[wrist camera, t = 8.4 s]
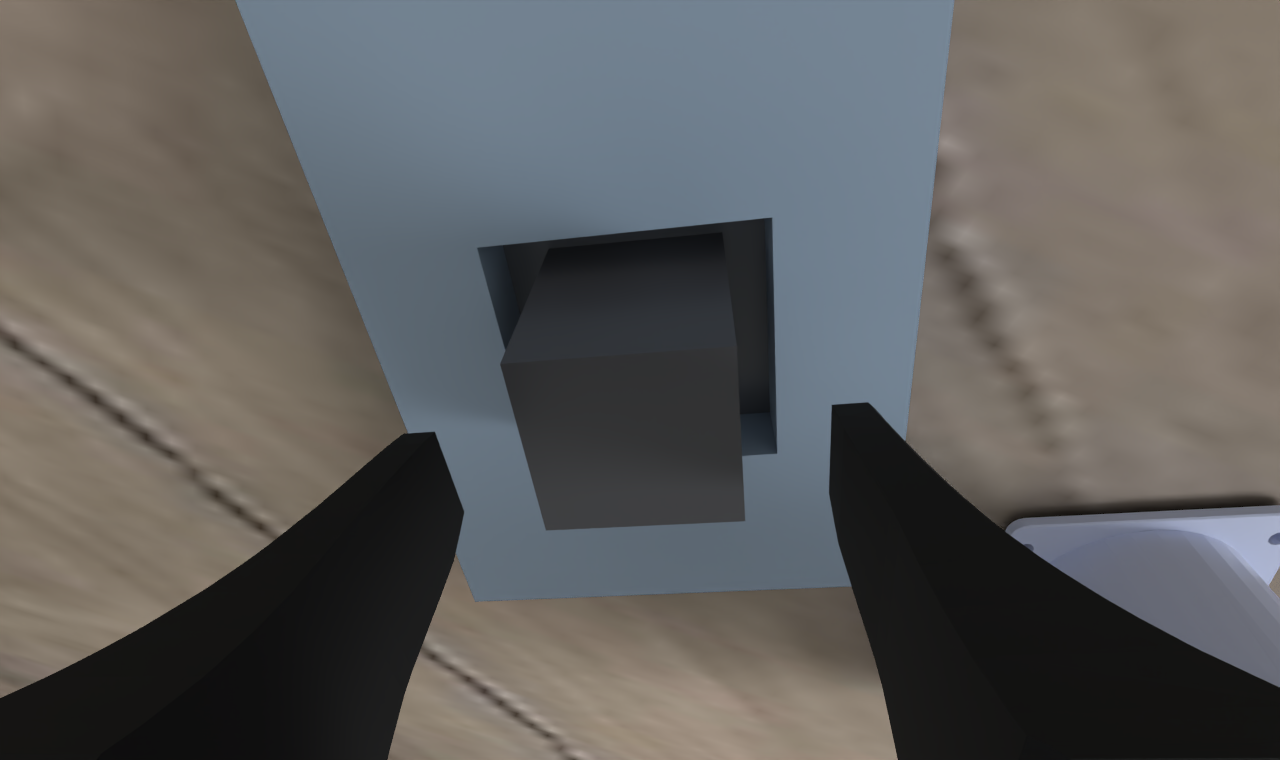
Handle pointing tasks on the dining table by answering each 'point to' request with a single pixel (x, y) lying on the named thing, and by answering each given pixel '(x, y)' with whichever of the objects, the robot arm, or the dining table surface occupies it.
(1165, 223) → the dining table surface
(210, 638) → the robot arm
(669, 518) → the plug
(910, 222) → the pale blue socket slab
